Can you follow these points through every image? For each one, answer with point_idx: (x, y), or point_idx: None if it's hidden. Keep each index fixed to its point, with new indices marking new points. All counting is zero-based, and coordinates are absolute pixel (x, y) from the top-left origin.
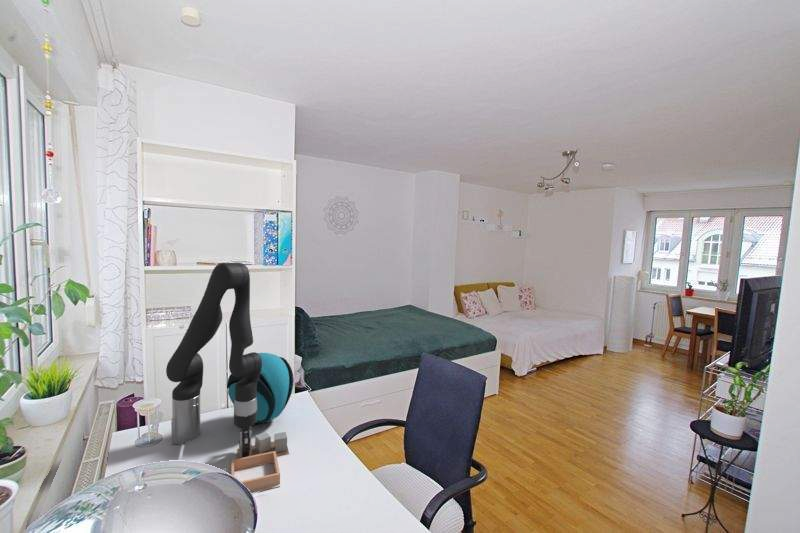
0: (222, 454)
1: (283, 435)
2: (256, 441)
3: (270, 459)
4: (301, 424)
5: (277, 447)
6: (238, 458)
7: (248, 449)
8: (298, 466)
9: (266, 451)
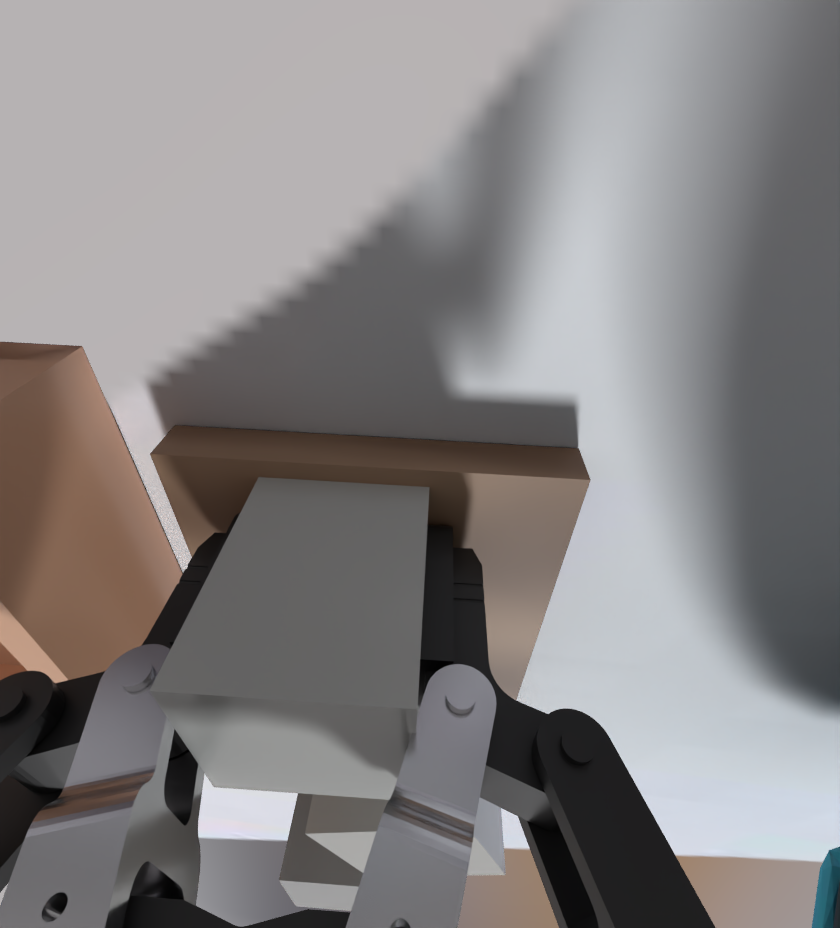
0: (656, 229)
1: (344, 903)
2: None
3: None
4: (659, 812)
5: None
6: (316, 472)
7: (6, 777)
8: None
9: None
